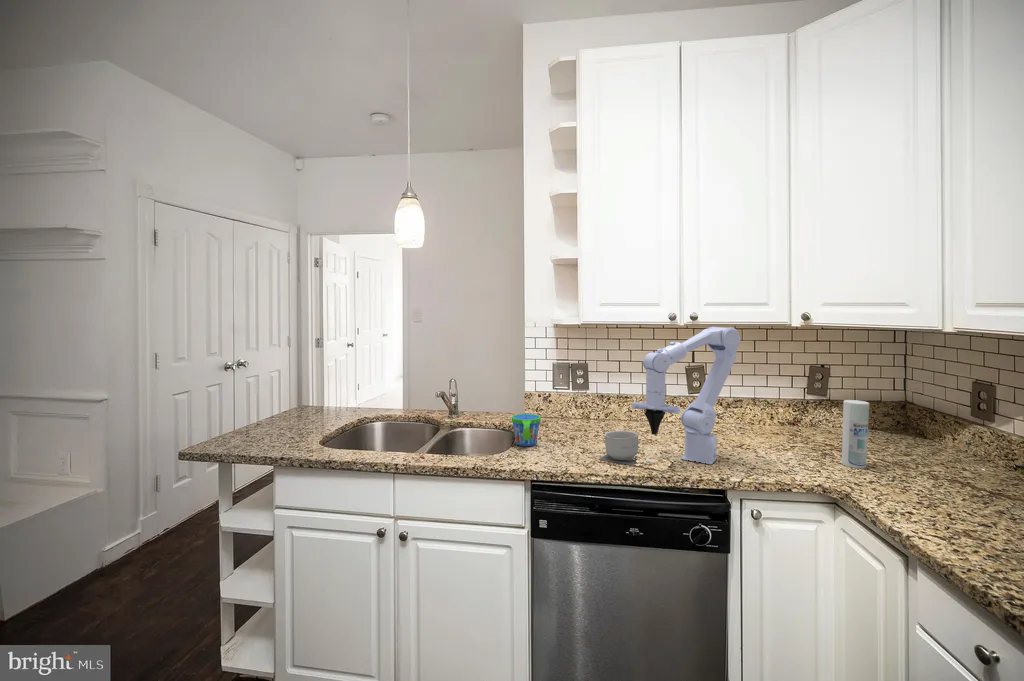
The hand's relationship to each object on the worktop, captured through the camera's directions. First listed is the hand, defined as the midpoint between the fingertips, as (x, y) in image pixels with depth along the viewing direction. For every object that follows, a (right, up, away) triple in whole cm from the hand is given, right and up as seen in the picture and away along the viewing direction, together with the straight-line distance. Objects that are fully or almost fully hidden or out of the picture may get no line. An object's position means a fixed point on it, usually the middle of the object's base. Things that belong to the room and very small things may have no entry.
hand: (654, 433), depth 149 cm
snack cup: (-40, -8, +22) cm, 46 cm away
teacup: (-8, -9, +6) cm, 14 cm away
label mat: (-5, -9, +4) cm, 11 cm away
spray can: (+61, -10, -2) cm, 62 cm away
